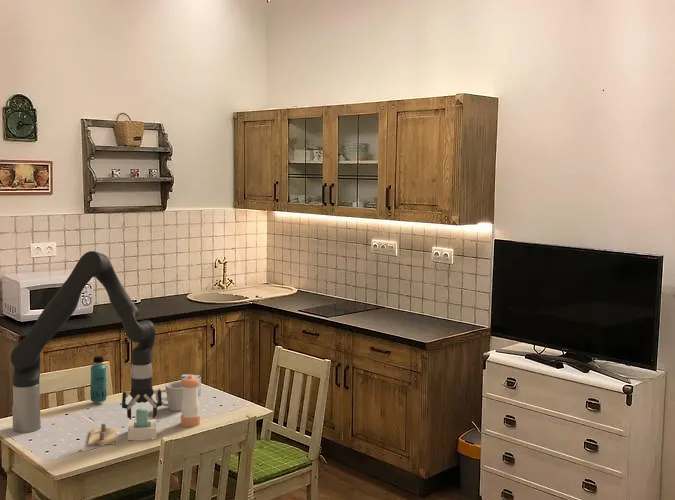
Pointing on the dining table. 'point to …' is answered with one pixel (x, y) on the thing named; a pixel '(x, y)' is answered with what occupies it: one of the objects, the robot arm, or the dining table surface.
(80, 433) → the dining table surface
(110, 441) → the board
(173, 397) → the mug
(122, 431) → the dining table surface
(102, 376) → the beverage bottle
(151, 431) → the socket block
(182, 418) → the pepper shaker
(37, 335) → the robot arm
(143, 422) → the pin
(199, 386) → the medicine box
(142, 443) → the dining table surface
